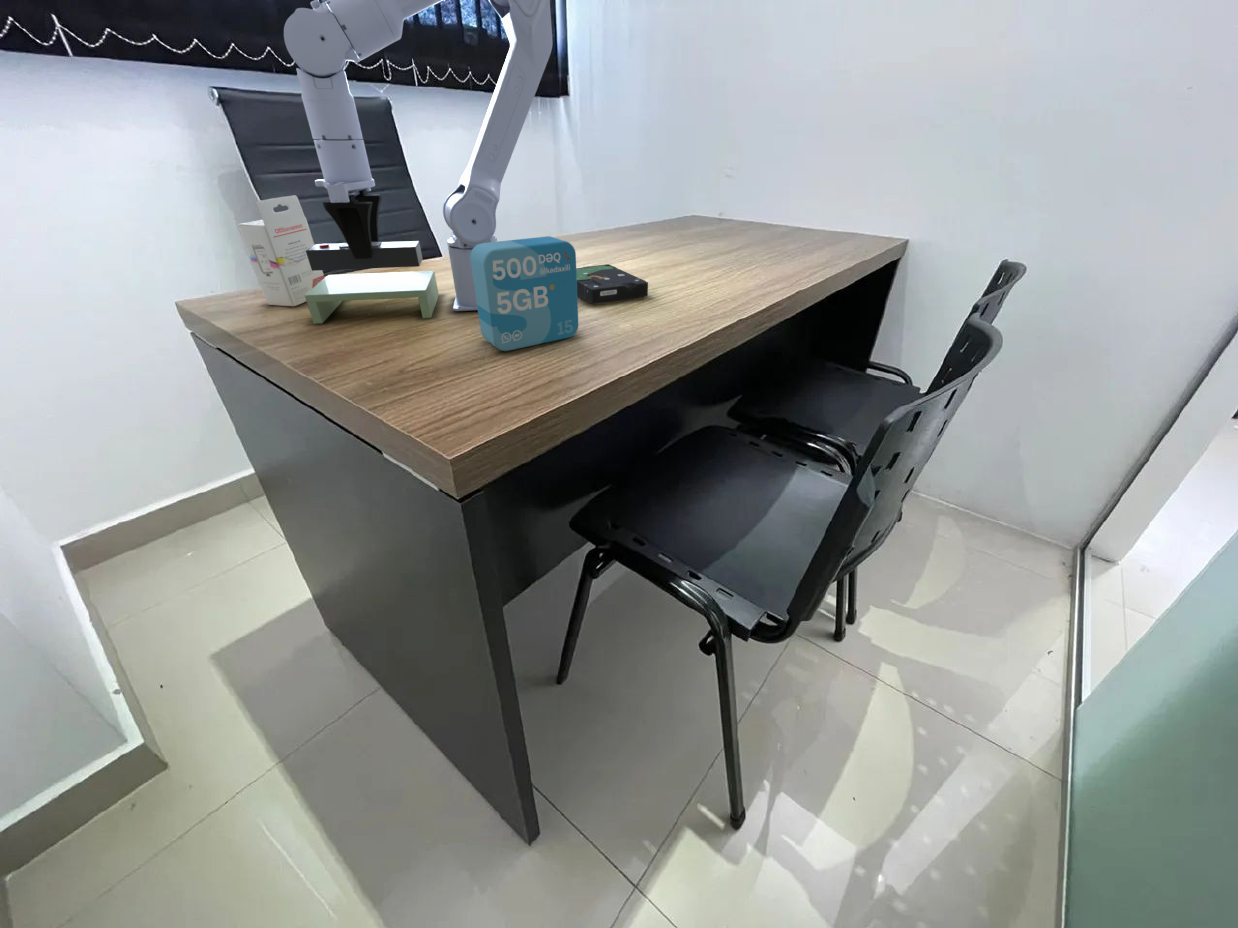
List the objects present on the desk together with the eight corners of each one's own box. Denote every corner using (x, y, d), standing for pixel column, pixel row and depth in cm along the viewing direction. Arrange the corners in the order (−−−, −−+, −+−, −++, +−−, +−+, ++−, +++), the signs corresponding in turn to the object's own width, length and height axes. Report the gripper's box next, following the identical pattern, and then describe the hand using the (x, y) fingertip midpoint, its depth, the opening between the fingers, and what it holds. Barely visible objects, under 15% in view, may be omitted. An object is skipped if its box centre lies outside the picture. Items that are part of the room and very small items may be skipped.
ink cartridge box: (304, 291, 87) (272, 193, 79) (330, 293, 86) (300, 194, 78) (265, 305, 80) (226, 200, 72) (293, 307, 79) (256, 201, 71)
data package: (495, 354, 63) (482, 250, 56) (481, 343, 66) (467, 244, 60) (579, 336, 69) (576, 240, 62) (563, 327, 72) (558, 234, 65)
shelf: (438, 295, 85) (434, 270, 83) (431, 317, 75) (425, 290, 73) (335, 300, 82) (328, 274, 80) (313, 324, 72) (304, 295, 70)
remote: (422, 260, 76) (418, 238, 74) (419, 266, 72) (414, 244, 70) (320, 263, 73) (314, 241, 72) (311, 270, 69) (304, 248, 68)
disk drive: (649, 299, 84) (608, 278, 95) (650, 282, 83) (608, 262, 94) (592, 307, 80) (556, 284, 91) (592, 289, 79) (555, 268, 89)
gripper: (320, 139, 70) (348, 245, 77) (285, 141, 58) (322, 267, 65) (375, 139, 71) (397, 244, 78) (351, 141, 59) (381, 264, 66)
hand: (367, 254), depth 72 cm, fingers closed on remote, 4 cm apart
